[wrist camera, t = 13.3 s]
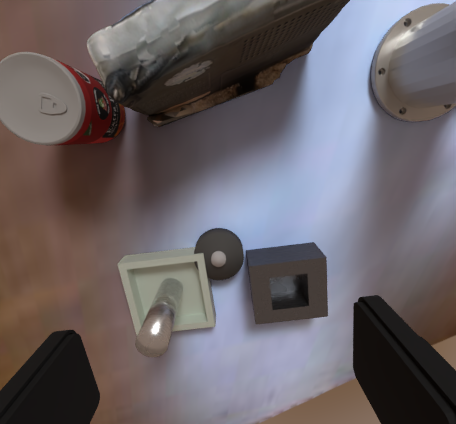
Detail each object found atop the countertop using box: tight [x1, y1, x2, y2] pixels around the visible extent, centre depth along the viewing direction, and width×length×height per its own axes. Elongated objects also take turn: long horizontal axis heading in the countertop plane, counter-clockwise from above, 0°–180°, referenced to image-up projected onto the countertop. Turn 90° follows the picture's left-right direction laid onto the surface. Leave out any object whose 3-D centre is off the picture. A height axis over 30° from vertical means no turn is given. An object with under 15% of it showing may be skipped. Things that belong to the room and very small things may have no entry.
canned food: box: [0, 52, 125, 145], centre depth 28 cm, size 8×8×11 cm
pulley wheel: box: [194, 228, 244, 280], centre depth 37 cm, size 7×7×3 cm
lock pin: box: [135, 278, 183, 357], centre depth 34 cm, size 4×4×11 cm
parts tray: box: [118, 247, 216, 335], centre depth 39 cm, size 12×12×3 cm
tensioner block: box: [246, 242, 328, 324], centre depth 37 cm, size 10×9×5 cm
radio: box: [87, 0, 350, 127], centre depth 25 cm, size 23×9×15 cm, turn 106°
